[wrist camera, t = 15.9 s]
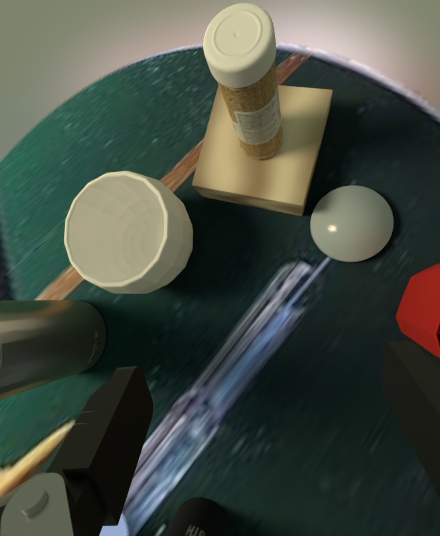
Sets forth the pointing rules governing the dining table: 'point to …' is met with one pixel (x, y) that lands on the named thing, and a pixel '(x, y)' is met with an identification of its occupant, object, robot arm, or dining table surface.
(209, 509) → the black bottle
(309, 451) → the dining table surface
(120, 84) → the dining table surface
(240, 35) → the sprinkles bottle
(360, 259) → the pale grey dome
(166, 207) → the cup
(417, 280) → the french fries
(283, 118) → the birch block
